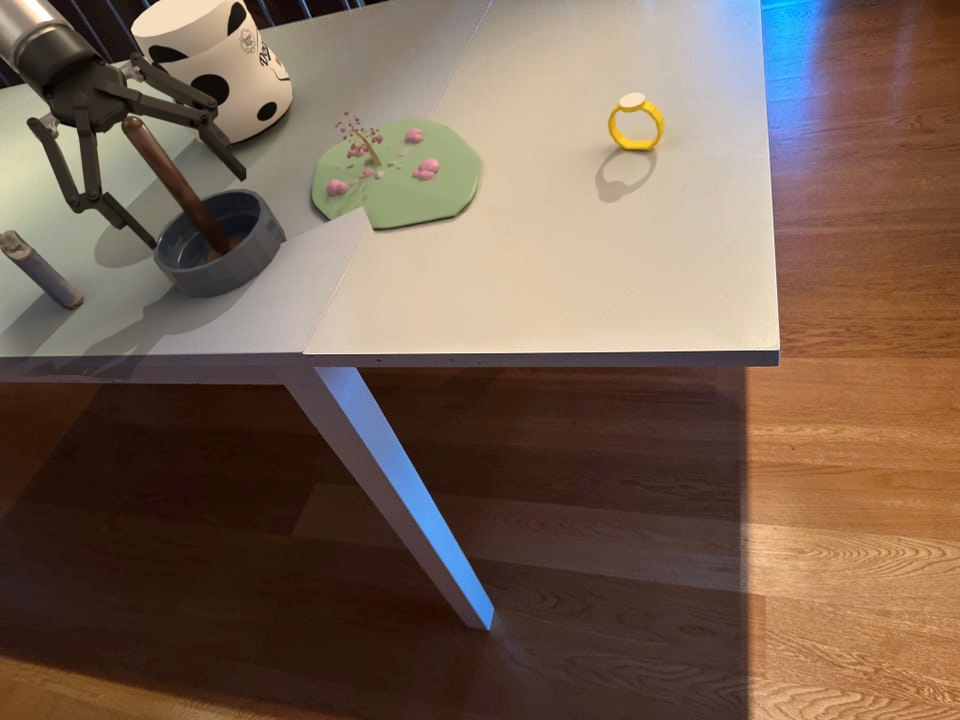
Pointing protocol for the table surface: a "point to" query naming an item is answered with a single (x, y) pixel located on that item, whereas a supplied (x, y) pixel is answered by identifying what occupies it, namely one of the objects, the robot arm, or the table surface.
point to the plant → (397, 173)
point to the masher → (178, 187)
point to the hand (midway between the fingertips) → (200, 209)
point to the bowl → (189, 250)
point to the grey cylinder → (39, 270)
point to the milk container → (218, 62)
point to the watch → (634, 104)
